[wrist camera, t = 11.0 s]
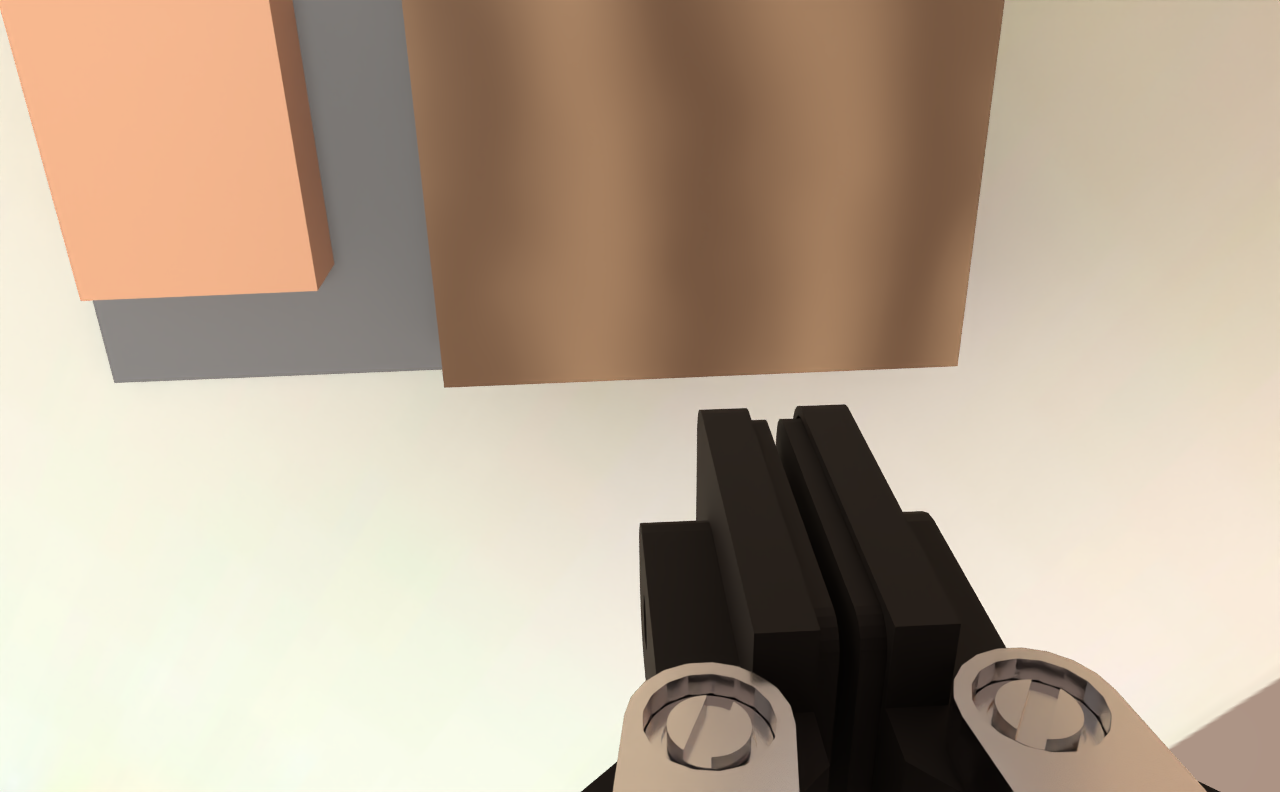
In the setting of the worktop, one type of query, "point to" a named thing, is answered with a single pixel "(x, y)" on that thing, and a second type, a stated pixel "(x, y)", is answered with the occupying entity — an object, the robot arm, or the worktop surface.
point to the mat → (358, 226)
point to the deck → (699, 183)
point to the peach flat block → (175, 144)
